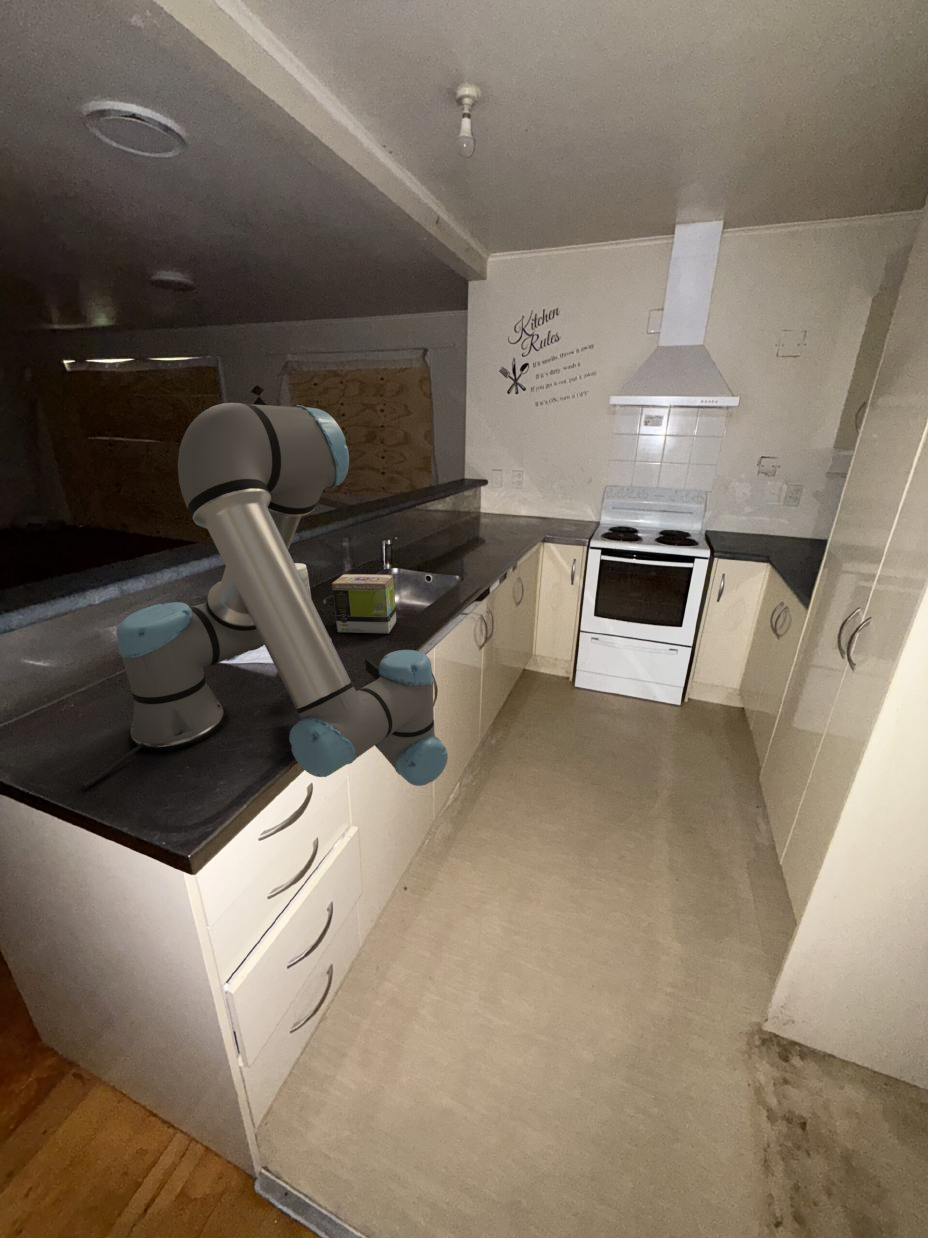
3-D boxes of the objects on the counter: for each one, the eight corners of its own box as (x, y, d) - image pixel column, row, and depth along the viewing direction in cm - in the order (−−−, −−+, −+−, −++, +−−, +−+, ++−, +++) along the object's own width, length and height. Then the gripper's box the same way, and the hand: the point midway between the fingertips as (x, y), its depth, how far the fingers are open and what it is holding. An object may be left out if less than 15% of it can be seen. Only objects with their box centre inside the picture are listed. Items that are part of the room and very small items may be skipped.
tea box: (397, 621, 143) (394, 573, 138) (388, 635, 134) (385, 583, 129) (347, 620, 145) (343, 572, 140) (336, 633, 136) (330, 582, 130)
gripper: (313, 765, 77) (276, 707, 93) (444, 716, 90) (392, 673, 107) (307, 725, 74) (270, 673, 91) (444, 680, 88) (390, 642, 104)
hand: (336, 673), depth 99 cm, fingers open, 13 cm apart
